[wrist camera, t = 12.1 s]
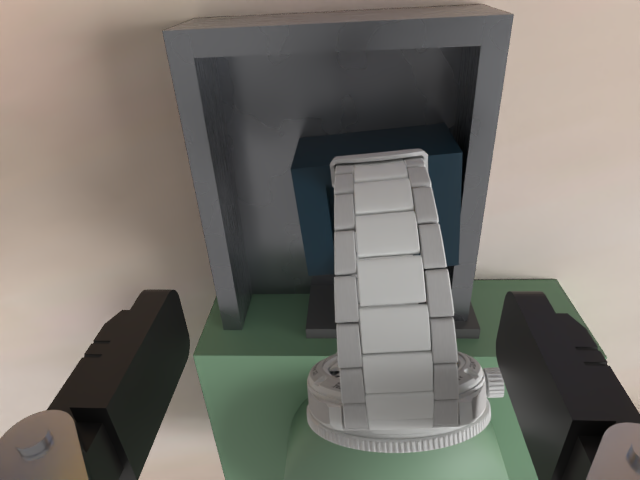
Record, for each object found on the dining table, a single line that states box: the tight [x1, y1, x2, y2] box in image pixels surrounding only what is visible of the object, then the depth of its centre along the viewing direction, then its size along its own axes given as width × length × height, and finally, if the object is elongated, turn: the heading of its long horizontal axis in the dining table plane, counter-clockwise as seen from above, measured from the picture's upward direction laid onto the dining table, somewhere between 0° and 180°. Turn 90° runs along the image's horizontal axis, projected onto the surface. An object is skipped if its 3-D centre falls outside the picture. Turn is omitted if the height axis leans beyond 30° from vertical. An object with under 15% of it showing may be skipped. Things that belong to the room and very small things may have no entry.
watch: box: [291, 123, 504, 453], centre depth 14 cm, size 6×8×11 cm
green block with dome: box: [193, 279, 607, 480], centre depth 22 cm, size 11×16×8 cm
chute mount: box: [162, 4, 514, 330], centre depth 18 cm, size 12×10×4 cm
